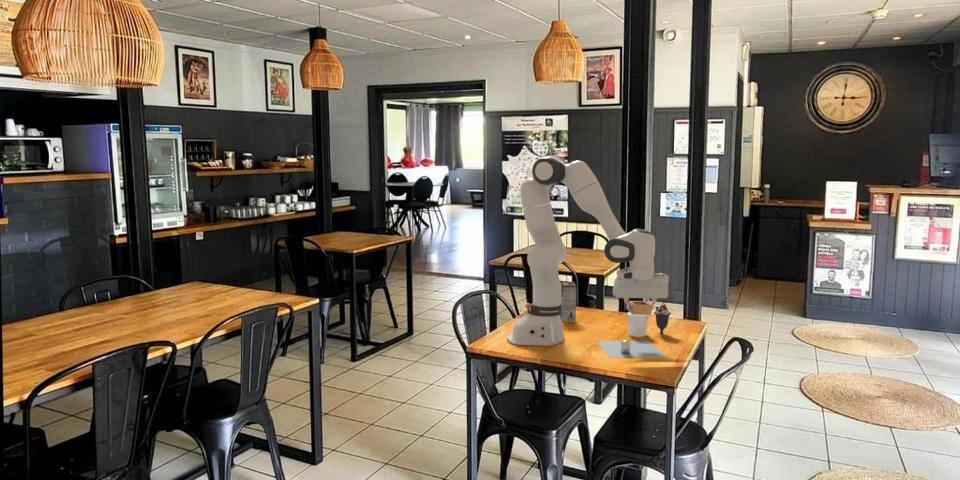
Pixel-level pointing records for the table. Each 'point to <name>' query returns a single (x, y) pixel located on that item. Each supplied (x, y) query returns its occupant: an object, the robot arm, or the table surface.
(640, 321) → the white cup
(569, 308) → the coffee box
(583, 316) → the table surface
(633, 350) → the plate
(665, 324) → the sundae
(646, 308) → the collar
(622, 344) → the piston
